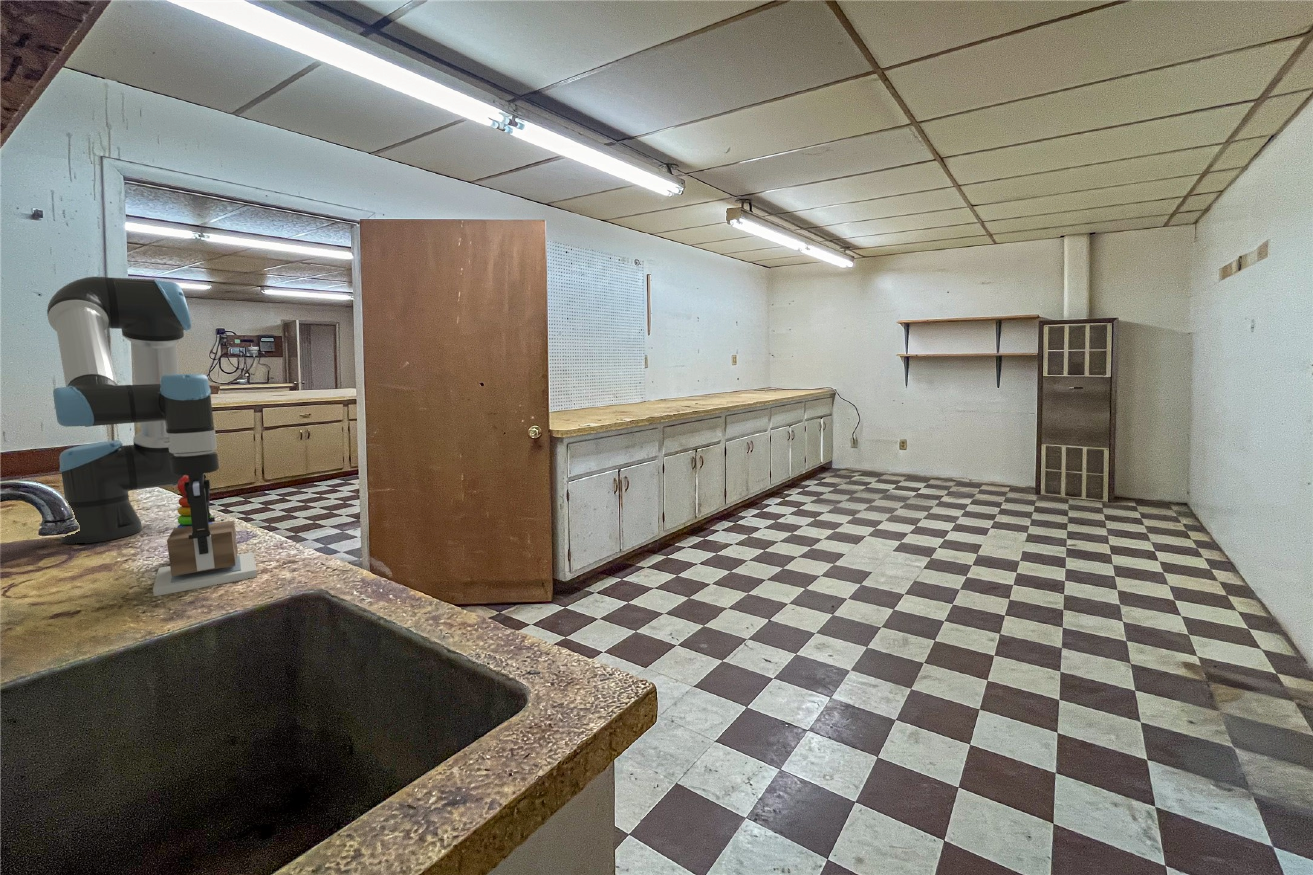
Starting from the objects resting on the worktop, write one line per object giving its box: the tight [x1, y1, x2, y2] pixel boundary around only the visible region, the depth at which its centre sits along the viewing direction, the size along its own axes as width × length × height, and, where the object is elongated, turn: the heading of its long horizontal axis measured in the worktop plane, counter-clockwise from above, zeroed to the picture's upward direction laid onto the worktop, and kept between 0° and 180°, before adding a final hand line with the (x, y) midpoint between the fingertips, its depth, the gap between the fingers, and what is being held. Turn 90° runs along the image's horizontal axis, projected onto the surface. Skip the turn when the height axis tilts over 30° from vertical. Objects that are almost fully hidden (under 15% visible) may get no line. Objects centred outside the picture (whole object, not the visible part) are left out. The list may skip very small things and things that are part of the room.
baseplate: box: [152, 551, 258, 597], centre depth 121 cm, size 14×16×2 cm
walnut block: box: [166, 520, 239, 576], centre depth 121 cm, size 10×10×7 cm
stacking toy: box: [176, 475, 214, 528], centre depth 132 cm, size 8×8×19 cm
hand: (206, 561), depth 121 cm, fingers closed on walnut block, 10 cm apart
